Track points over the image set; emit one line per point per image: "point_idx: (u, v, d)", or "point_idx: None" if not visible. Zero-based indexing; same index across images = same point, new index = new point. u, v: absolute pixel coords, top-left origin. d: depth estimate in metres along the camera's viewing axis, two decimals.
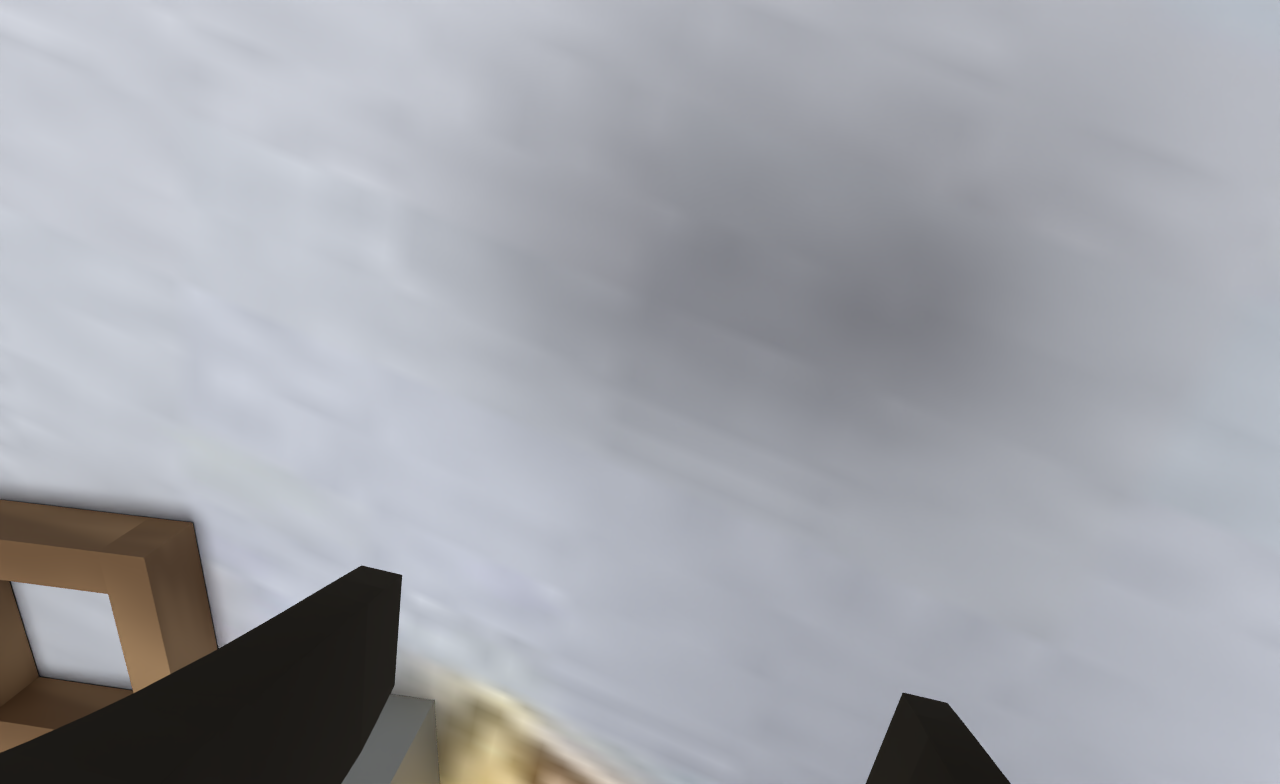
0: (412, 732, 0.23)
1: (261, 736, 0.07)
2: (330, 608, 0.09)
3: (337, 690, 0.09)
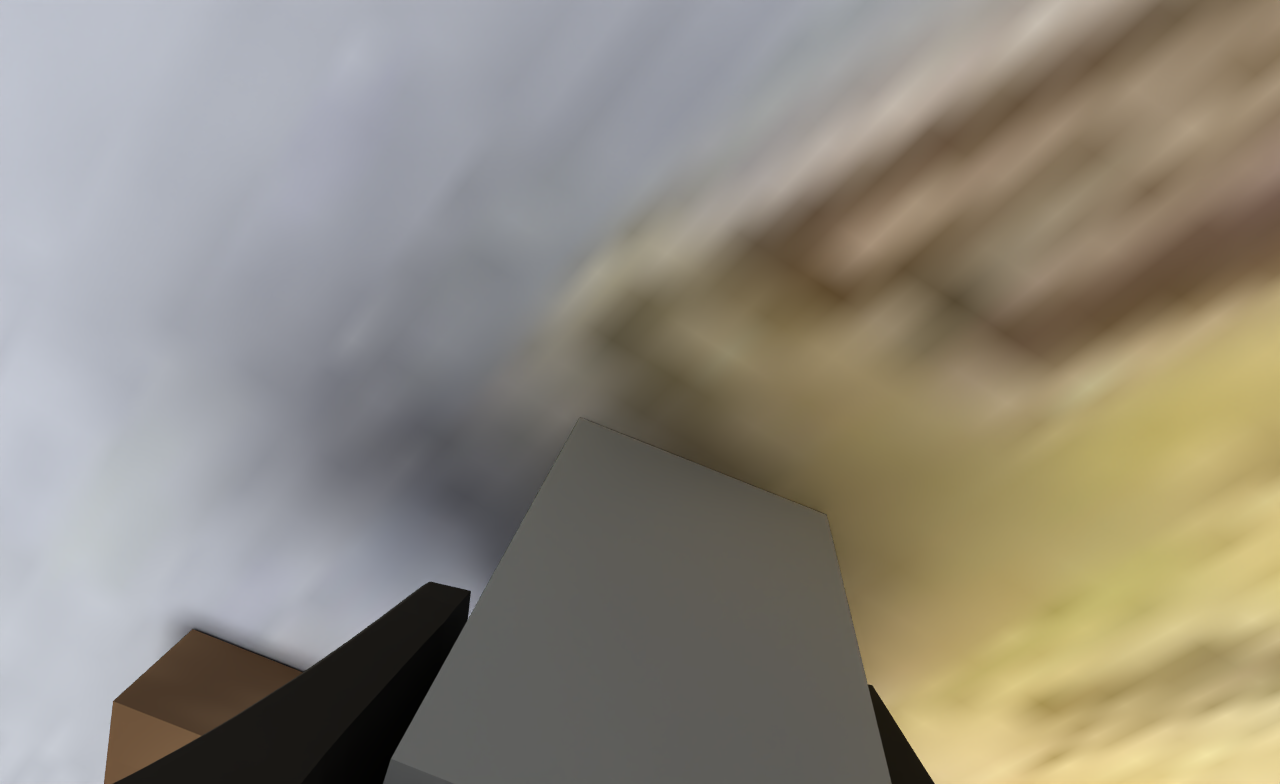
0: None
1: (355, 760, 0.07)
2: (409, 627, 0.08)
3: (416, 709, 0.08)
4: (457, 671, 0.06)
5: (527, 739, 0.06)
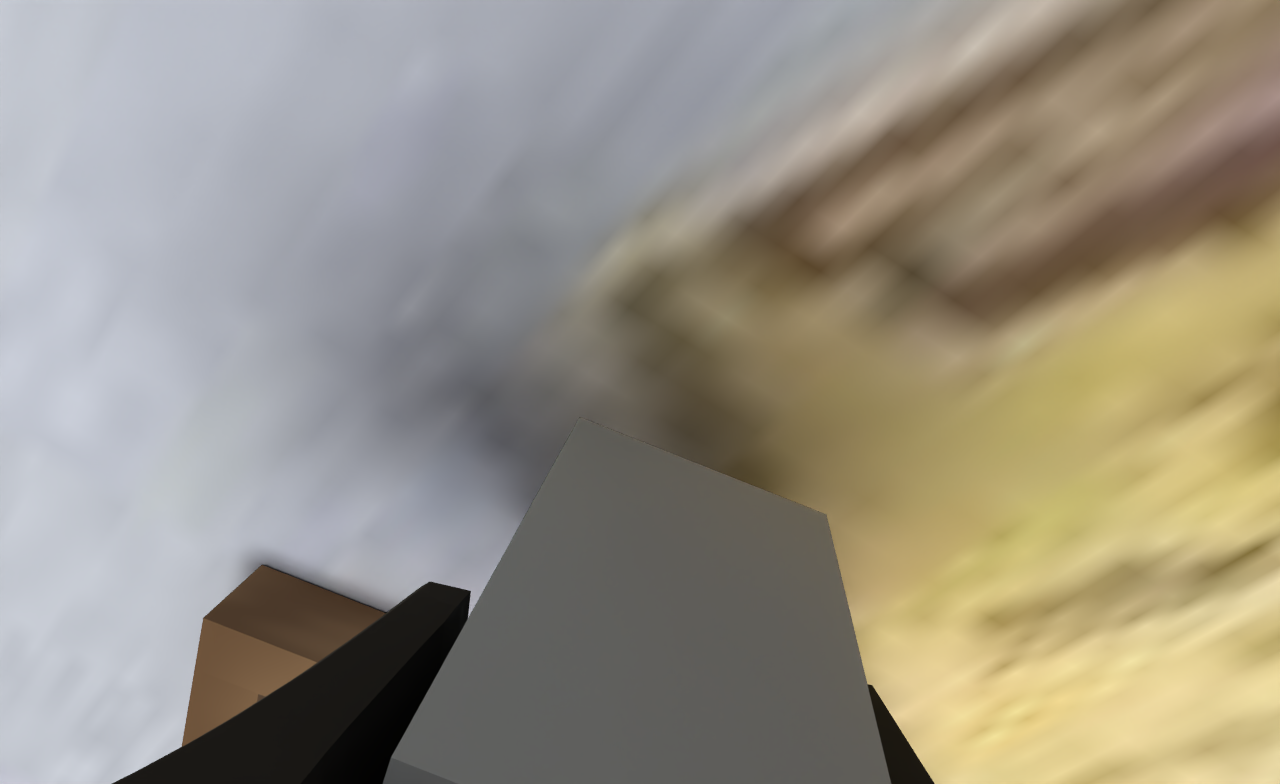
0: None
1: (355, 759, 0.07)
2: (409, 627, 0.08)
3: (416, 709, 0.08)
4: (457, 670, 0.06)
5: (527, 739, 0.06)
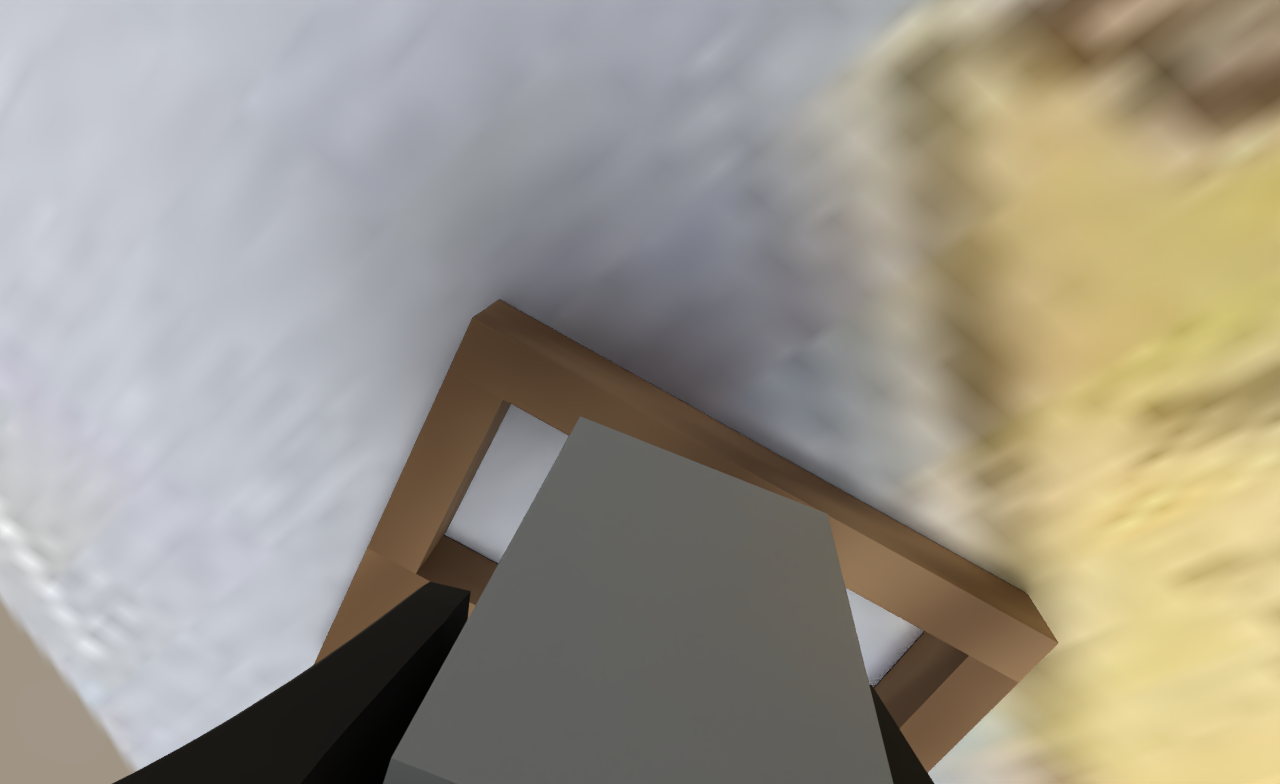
0: None
1: (355, 760, 0.07)
2: (409, 627, 0.08)
3: (416, 709, 0.08)
4: (457, 670, 0.06)
5: (528, 738, 0.06)
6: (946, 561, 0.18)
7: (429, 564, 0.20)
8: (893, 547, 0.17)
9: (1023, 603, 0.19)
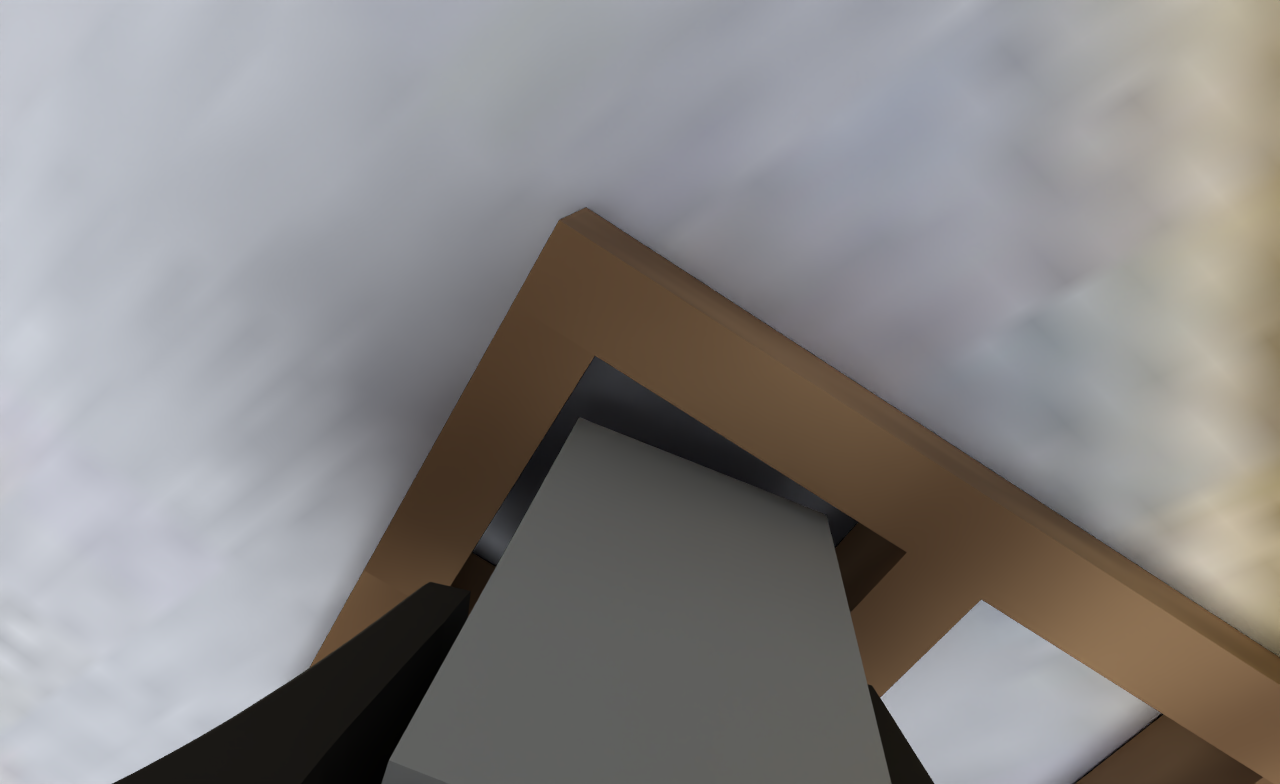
0: None
1: (355, 760, 0.07)
2: (409, 627, 0.08)
3: (416, 710, 0.08)
4: (455, 672, 0.06)
5: (525, 741, 0.06)
6: (1226, 633, 0.12)
7: None
8: (1175, 614, 0.11)
9: None
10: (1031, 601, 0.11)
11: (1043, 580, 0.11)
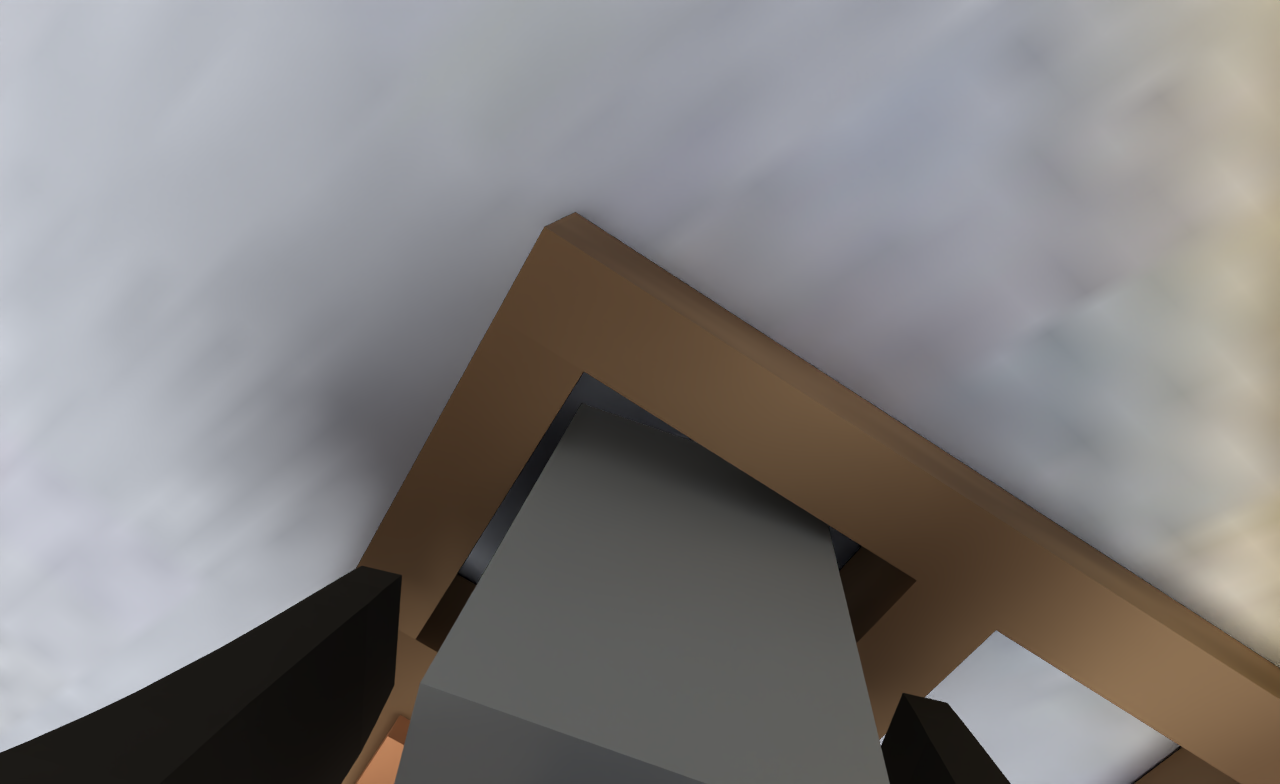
0: None
1: (261, 736, 0.07)
2: (330, 608, 0.09)
3: (337, 690, 0.09)
4: (475, 615, 0.07)
5: (538, 670, 0.07)
6: (1255, 664, 0.12)
7: (436, 623, 0.13)
8: (1202, 646, 0.11)
9: None
10: (1049, 632, 0.11)
11: (1062, 610, 0.11)
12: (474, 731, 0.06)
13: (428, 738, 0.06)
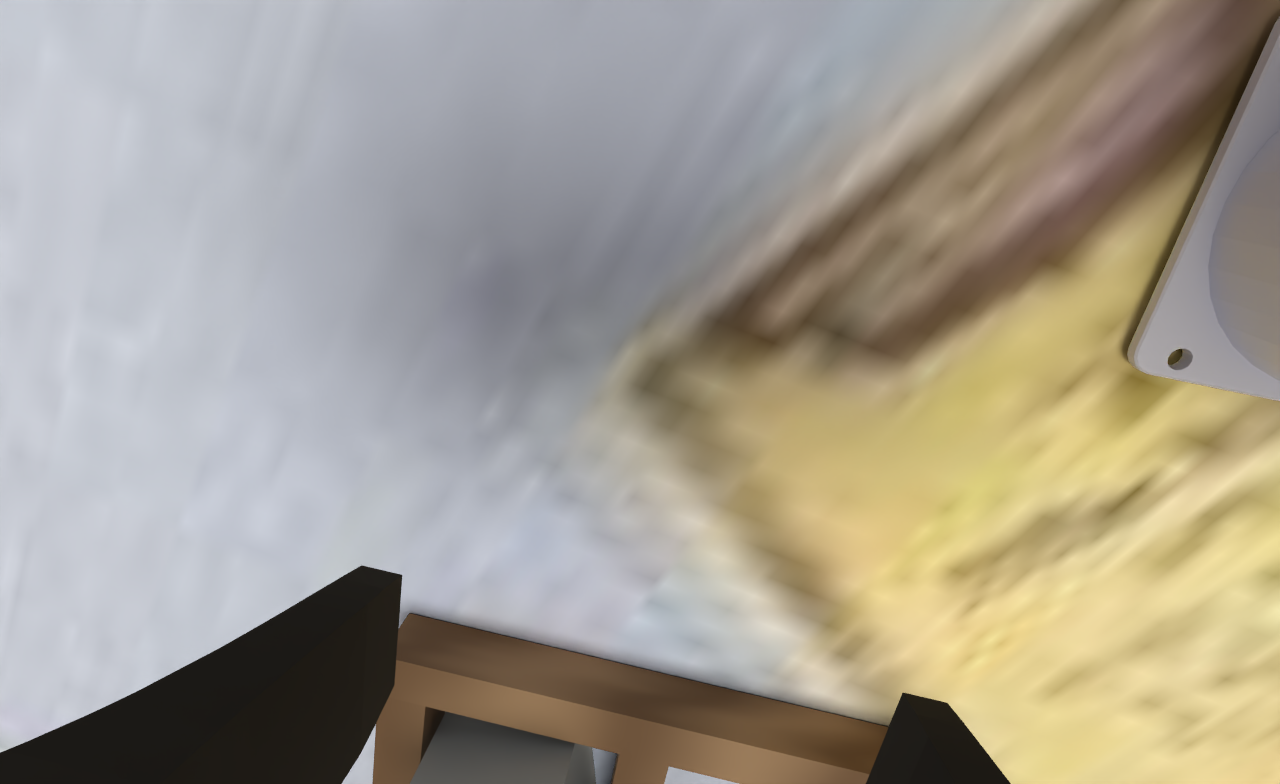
0: None
1: (261, 736, 0.07)
2: (330, 608, 0.09)
3: (337, 690, 0.09)
4: None
5: None
6: (830, 734, 0.21)
7: None
8: (771, 745, 0.20)
9: None
10: (692, 760, 0.21)
11: (691, 749, 0.20)
12: None
13: None
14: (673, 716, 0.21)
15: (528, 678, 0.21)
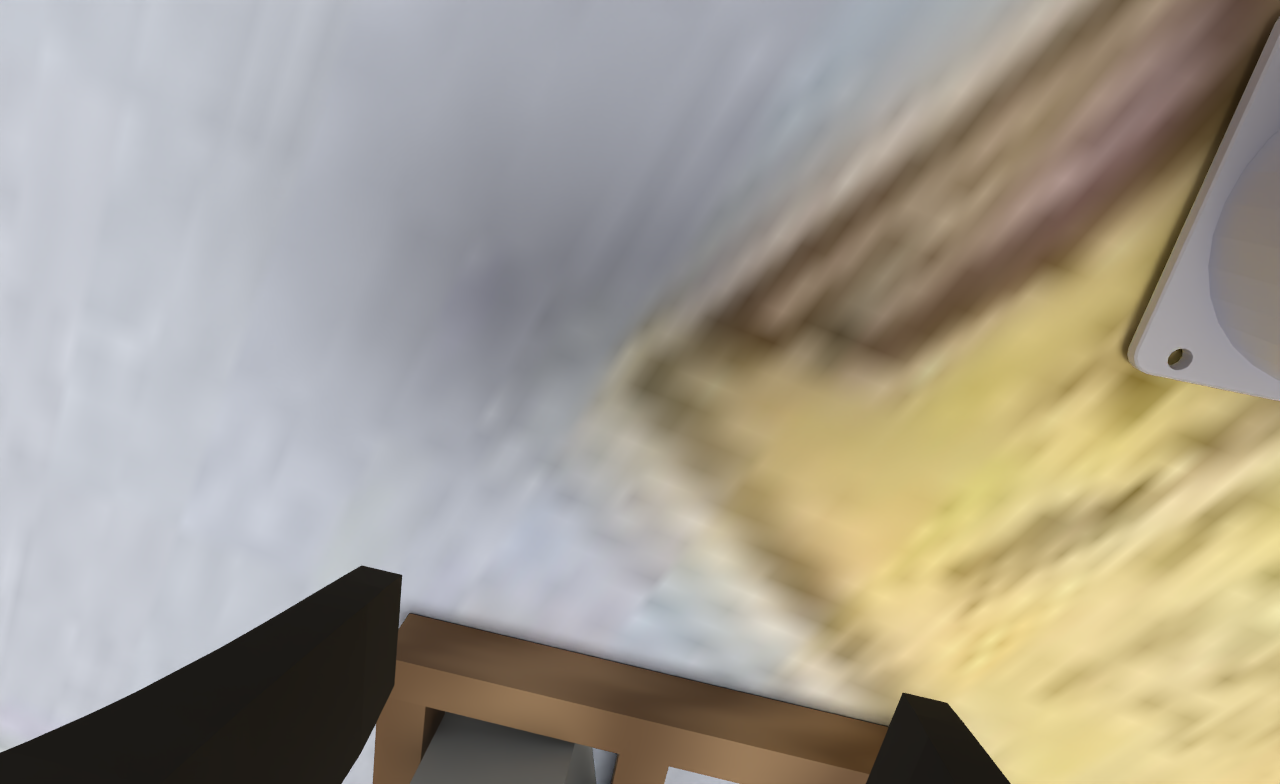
0: None
1: (261, 736, 0.07)
2: (330, 608, 0.09)
3: (337, 690, 0.09)
4: None
5: None
6: (831, 734, 0.21)
7: None
8: (771, 745, 0.20)
9: None
10: (693, 760, 0.21)
11: (691, 749, 0.20)
12: None
13: None
14: (673, 716, 0.21)
15: (528, 678, 0.21)
